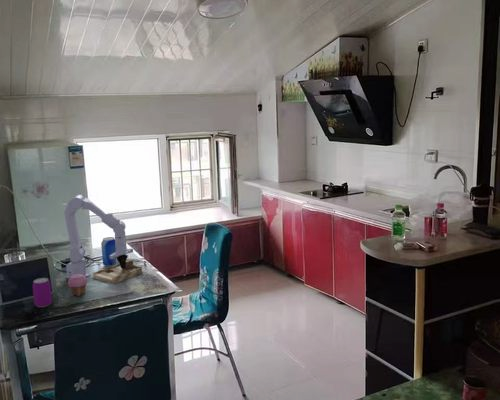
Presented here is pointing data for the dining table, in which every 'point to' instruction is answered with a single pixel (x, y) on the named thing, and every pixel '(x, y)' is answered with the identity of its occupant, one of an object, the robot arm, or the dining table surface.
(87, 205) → the robot arm
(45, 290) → the beverage can
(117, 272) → the divided beige tray
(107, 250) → the beer can
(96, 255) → the dining table surface
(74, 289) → the cupcake
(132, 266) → the walnut block
